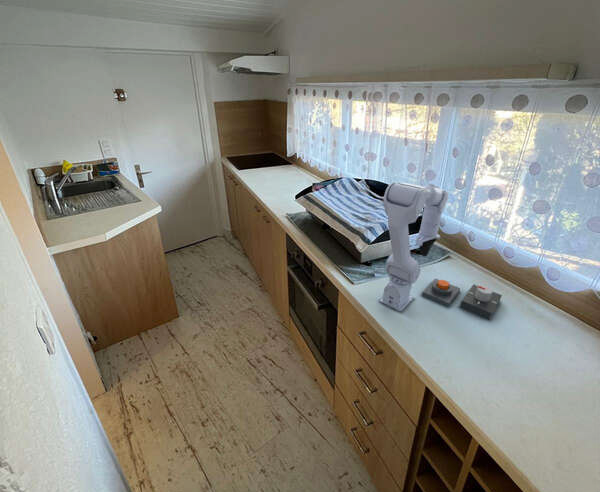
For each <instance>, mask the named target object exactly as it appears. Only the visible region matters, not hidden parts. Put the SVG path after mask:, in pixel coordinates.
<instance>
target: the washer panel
mask: <svg viewBox="0 0 600 492" xmlns="http://www.w3.org/2000/svg"><path fill="white" fill-rule="evenodd" d="M478 286H479V285H476V284H472V285H471V287H470V289H469V290H468V291H467V293H466V294H465V296H463V298H462V300H461V302H460V305H459V308H460V309H462V310H465V311H466V312H470V313H472V314H474V315H476V316H478V317H481V318H484V319H485V320H487V321H490V319H492V316H493V314H494V312H495V311H496V309H497V307H498V305H499V303H500V302H501V298H502V294H500V293H498V292H495V291H493V292H492V295H491V297H490V300H489V301H488V302H483V301H480V300H478V299H476V297H475V293H476V290H477V287H478Z"/></svg>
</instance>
